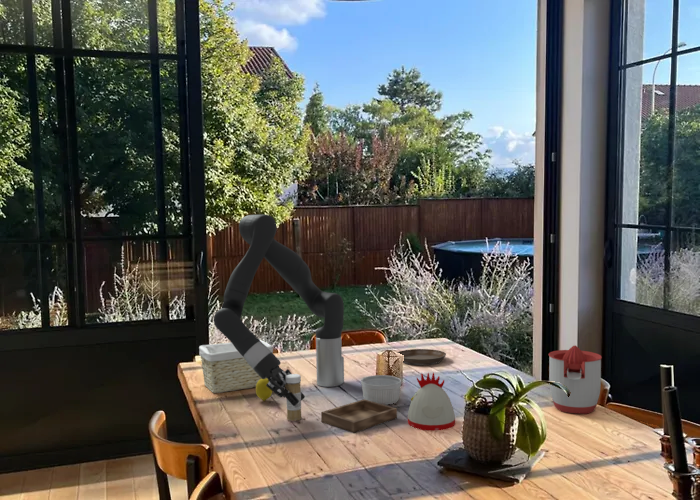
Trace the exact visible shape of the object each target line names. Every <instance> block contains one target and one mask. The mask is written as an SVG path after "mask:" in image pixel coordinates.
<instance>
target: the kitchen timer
mask: <svg viewBox="0 0 700 500" xmlns="http://www.w3.org/2000/svg"><path fill="white" fill-rule="evenodd" d="M420 378H421V380H420V379H419V378H418V377H416V381H417V383H418V385H419V386H420V388H418V389H417V390H416V391H415V394H414V395H413V396H412V397H411V398H410V400H411V401H410V405H409V407H408V412H407V424H408V426H410V427H411V426H412V428H413V427H414V428H413V429H416V428H417V430H419V431H436V432H437V431H438V432H439V431H445V430H449V429H452V428H453V427H455V425H456V413H455V410H454V406H453V404H452V401H451V398H450V397H449V395H448V393H447V392H446V390H444V389H443V386H444V384H445V379H443V380H442V382H441V383H439V382H440V379H441V378H440V375H438V376H437V378H436V377H435V373H434V372H432V374H431V379H430V373H429V372H427V375H426V379H425V378H424V374H423V373H421V374H420Z"/></svg>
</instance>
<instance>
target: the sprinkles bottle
mask: <svg viewBox="0 0 700 500" xmlns="http://www.w3.org/2000/svg"><path fill="white" fill-rule="evenodd" d="M301 378H302V376H301V374H298V373H292V374H289V375H287V376H286V383H287V387H288V388H289V390H290V393H291V392H292V393H293V394H294V396H295V397H296V398H297V399H298V400H299V402H298V403H297V404H296V405H295V406H293V405H292V404H291V403H290V402H289V401H288V399H287V398H286V397H285V398H286V419H287V420H288V421H291V422H297V421H300V420H301V419H302V401H301V392H302V390H301V384H302V383H301V381H302V380H301Z"/></svg>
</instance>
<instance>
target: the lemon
mask: <svg viewBox="0 0 700 500" xmlns="http://www.w3.org/2000/svg"><path fill="white" fill-rule="evenodd" d="M268 382H269V381H268V379H267V378H265V379H260V380H259V381H258V382H257V384H256V387H255V394H256V396H257V397H258V398H259V399H260V400H262V401H263V402H266V401H267V400H268V399H270V397H272V395H273V391H272V390H271V389H269V388H268V387H267V386H266V384H267V383H268Z"/></svg>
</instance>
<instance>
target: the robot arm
mask: <svg viewBox="0 0 700 500" xmlns="http://www.w3.org/2000/svg"><path fill="white" fill-rule="evenodd" d="M238 230H239V234H240V236H241V238H242V239H243V240H244V241H245V242H246V243H247V244H248V245H249V248H248V250H247V251H246V253H245V255H244V256H243V258H242V259H241V260H240V262H238V264H237V265H236V266H235V267H234V269H233V271H232V273H231V274H230V277H229V279H228V282H227V284H226V287H225V290H224V294H223V303H222V304H221V307H220V309H218V310H217V311H216V312H215V313H214V316H213V324H214V326H215V328H217V330H218V331H219V332H220V333H221V334H223V335H224V336H225V338H226V339H228V341H230V343H231V342H232V344H233V345H234V347H235V348H236V349H237V351H238V352H239V353H240V354H241V355H242V356H243V357H244V358H245V360H246V361H247V363H248V364H249V365H250V366H251V367H252V368H253V369H254V371H255V372H256V373H257V374H258V375H259V376H260V377H261V378H262V379H265V378H267V379H268V381H269V382H268V383H267V384H266V386H267V387H268V388H269V389H271V390H272V393H274V394H276V396H278V397H279V398H283V399H284V398H287V399H288V401H289V402H290V403H291V404H292V405H293V406H295V405H296V404H297V403H298V402H299V400H298V399H297V398H296V397H295V396H294V394H293V393H292V392H291V393H290V390H289V388H288V387H287V383H286V376H287V375H289V374H293V372H291V370H290V369H286V370H284V369H283V368H281V367H280V365H281V360H279V358H278V357H277V356H276V355H275V354H274V353H272V352H271V351H270V350H269V349H268V348H267V347H266V346H265V345H264V344H263V343H262V342H261V341H260V340H261V339H260V340H259V338H258V337H257V335H255V334H254V333H253V331H252V330H251V329H249V328H248V327H247V326H246V324H245V323H244V322H243V320H242V319H241V318H242V314H243V309H244V305H245V302H246V300H247V298H248V294H249V292H250V289H251V286H252V282H253V280H254V277H255V275H256V273H257V272H258V269H259V267H260V265H261V264H262V261H263V259H265V260H266V261H267V262H268V263H269V265H270V266H271V267H272V268H273V269H274V270H275V271H276V272H277V273H278V274H279V276H280V277H281V278H282V279H283V280H284V281H285V282H286V283H287V284H288V285H289V286H290V287H291V288H292V289H293V290H294V291H295V292H296V293H297V295H299V297H300V298H301V299H302V301H303V302H304V303H305V305H306V306H307V307H308V309H309V311H311V313H312V314H313V315H315V316H316V317H318V318H324V319H323V322H324V323H323V326H320V327H317V328H316V330H315V356H316V357H315V359H316V364H315V365H316V384H317V385H318V386H320V387H323V388H324V387H325V388H327V387H328V388H330V387H338V386H341V385H342V384H344V383H345V359H344V356H343V353H342V351H343V350H342V348H343V347H342V331H343V328H344V312H345V311H344V310H345V308H344V307H345V305H344V301H343V297H342V296H341V295H340V294H339V293H335V292H328V291H327V292H325V291H323V290H321V289H320V288H319V287H318V286H317V285H316V284H315V283H314V282H313V279H312V273H311V270H310V267H309V265H308V264H307V263H306V261H304V260H303V258H302V257H301V256H300V255H299V254H298V253H297V252H295V251H293V249H291V248H290V247H287V246H286V245H284V244H283V243H280V242H278V240H276V239H275V235H276V233H277V222H276V220H275V219H274V218H273V216H271V215H269V214H249V215H246V216H243V217H242V218H241V219H240V221H239V223H238ZM287 399H286V400H287ZM304 399H305V394H304V393H303V392H302V391H301V402H302V401H303V400H304Z"/></svg>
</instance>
